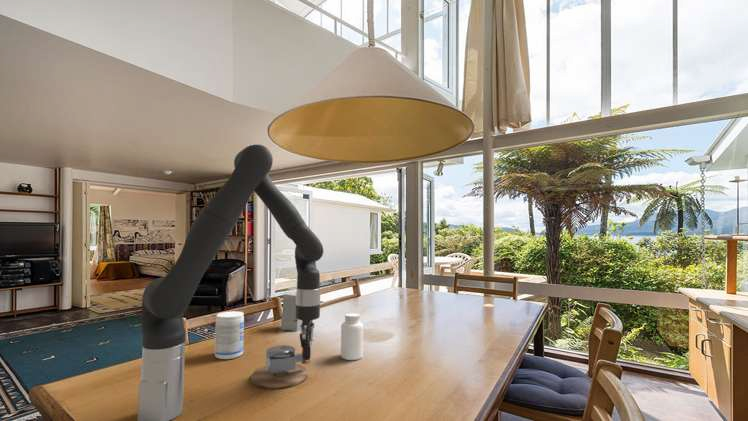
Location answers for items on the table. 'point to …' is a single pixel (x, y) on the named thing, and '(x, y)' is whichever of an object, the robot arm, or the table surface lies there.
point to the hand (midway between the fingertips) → (306, 358)
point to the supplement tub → (229, 335)
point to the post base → (279, 378)
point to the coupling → (283, 358)
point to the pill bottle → (352, 337)
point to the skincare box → (290, 313)
